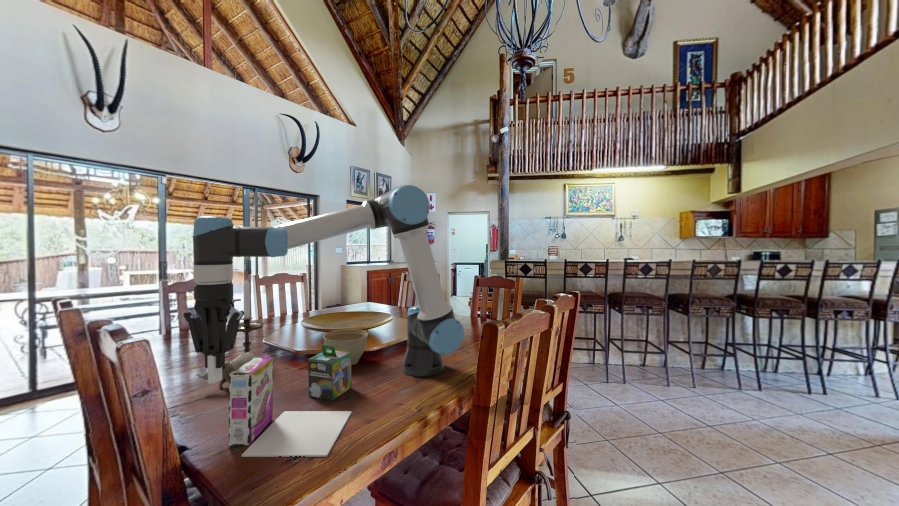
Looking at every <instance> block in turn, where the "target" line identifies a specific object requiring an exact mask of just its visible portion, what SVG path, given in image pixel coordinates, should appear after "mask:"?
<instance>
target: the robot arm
mask: <svg viewBox="0 0 899 506" xmlns="http://www.w3.org/2000/svg"><path fill="white" fill-rule="evenodd" d="M430 205H431V204H430V200H429V198H428V195H427V194H426V193H425V192H424V190H422V189H421V188H419V187H418V186H417V185H413V184H404V185H399V186H396V187H394V188H393V189H391V190H389V191H387V192H384V193H383V194H381V195H379V196H376V197H374V198H371V199H368V200H364V201H363V202H362V204H360V205H357V206H353V207H347V208H344V209H339V210H336V211H335V210H334V211H331V212H328V213H323V214H319V215H316V216H311V217H307V218H302V219H299V220H294V221H289V222H286V223H282V224H278V225H272V226H240V225H239V226H238V225H234V223H233V219H232V218H230V217H223V216H198V217H196V218H195V219H194V221H193V232H192V245H193V247H192V249H193V250H192V251H193V253H192V254H193V281H194V283H196V284H194V286H193V299H194V300H195V304H194V305H193V309H191V310H190V311H187V312H186V311H185V312H184V313H183V317H184V319H185V321H186V322H187V324H188V328H189V333H190V335H191V340H192V344H193V346H194V350H195V352H196V353H197V354H198V353H201V354H203V355H204V368H205V369H207V372H208V380H207V384H216V383H218V382H220V381H221V380H222V379H223V378H222V367H223V366H224V365H225V362H226V353H227V352H230V351H231V350H233V349H234V348H235V344H236V339H237V336H238V332H237V331H238V327H239V324H240V323H241V322H240V321H242V320H241V319H242V318H244V310H238V309H236V308H235V303H234V302H233V297H234V283H233V282H231V281H233V279H234V261H233V259H234V258H243V257H245V258H249V257H250V258H266V257H267V258H276V257H278V258H279V257H285V256H287V254H288V250H290V249H294V248H297V247H301V246H305V245H309V244H313V243H317V242H319V241H323V240H326V239H327V240H328V239H330V238H331V239H332V238H335V237H338V236H342V235H346V234H349V233H353V232H357V231H361V230H365V229H368V228H369V229H370V230H372V231H373V230H376V229H381V228H387V227H390V229H391V232H392V235H393V236H394V237H395V238H397V239H398V240H399V242H400V246H401V249H402V253H403V256H404V260H405V264H406V265H407V266H406V267H407V270H408V272H409V277H410V280H411V284H412V287H413V290H414V293H415V297H416V301H417V303H418V304H417V305H414V306H413V305H412V306H410V307H409V308H408V309H407V316H406V318H407V319H406V320H407V323H406V324H407V329H406V331H407V333H406V334H407V337H406V338H407V344H406V345H407V347H406V352H405V354H404V357H403V361H402V368H401V369H402V371H403V373H405V374H406V375H409V376H413V377H420V378H421V377H422V378H423V377H431V376H436V375H439V374H440V373H442V372H443V371H444V370H445V360H444V358H443V355H446V356H447V355H450V354H453V353H455V351H457V350H458V349H459V348H460V347H461V344H462V342H463V341H464V338H465V329H464V326H463V324H462V323H461V321H460V320H458V319H457V318H456V316H455V313H454V310H453V306H452V305H451V304H450V303H447V301H446V299H445V295H444V291H443V288H442V283H441V280H440V277H439V276H440V275H439V273H438V270H437V265H436V262H435V259H434V255H433V251H432V249H431V244H430V240H429V237H428V233H427V231H428V229H429V228H430V222H429V218H428V216H429V214H430V210H431V206H430ZM228 318H229V319H228Z"/></svg>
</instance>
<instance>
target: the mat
mask: <svg viewBox="0 0 899 506" xmlns="http://www.w3.org/2000/svg"><path fill="white" fill-rule="evenodd" d="M352 413H353V412H352V410H344V411H343V410H342V411H341V410H335V411H334V410H332V411H331V410H327V411H326V410H324V411H323V410H320V411H319V410H310V411H309V410H300V411H299V410H291V411H290V410H288V411H286V410H285V411H283V412H282V413H280V415H278V417H277V418H276V419H275V420H274V421H273V422H272V423H271V424H270V425H269V426H268V427H267V428H265V429H266V430H265V429H264V430H263V431H264V432H263V431H262V432H263V433H262V434H260V435H259V436H258V437H257V438H256V439H255V440H254V441H253V442H252V444H251V445H249V447H248V448H247V449H246V450H245V451H244V452H243V453H242V454H241V458H243V457H244V458H245V457H246V458H247V457H248V458H249V457H251V458H254V457H255V458H256V457H257V458H261V457H262V458H265V457H266V458H268V457H269V458H270V457H271V458H285V457H286V458H287V457H289V458H296V457H295V456H297V458H301V457H302V458H303V456H305V457H306V458H311V457H312V458H314V457H315V458H318V457H320V458H323V457H324V458H325V457H326V458H327V457H328V456H329V453H330V452H331V450H332V449H333V447H334V445H335V443H336V442H337V439H338V438H339V436H340V434H341V433H342V431H343V430H344V428H345V426H346V424H347V422H348V421H349V418H350V417H351V415H352ZM279 456H281V457H279ZM290 456H292V457H290ZM299 456H301V457H299ZM305 457H304V458H305Z"/></svg>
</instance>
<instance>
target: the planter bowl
mask: <svg viewBox="0 0 899 506" xmlns="http://www.w3.org/2000/svg"><path fill="white" fill-rule="evenodd" d="M368 335H369V333H368V332H367V331H365V330H363V329H352V328H349V329H348V328H347V329H346V328H345V329H340V330H339V329H337V330H332V331H329V332H328V333H325V334H323V336H322V337H323V345H329V346H334V348H335V351H344V352H351V366H354V365H356V364H358V362H359V361H360V358H361V357H362V355H363V354H364V352H365V350H366V347H367V343H368V342H367V341H368V337H369V336H368ZM327 350H330V349H328V348H327V349H326V351H327Z"/></svg>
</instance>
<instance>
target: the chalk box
mask: <svg viewBox="0 0 899 506" xmlns="http://www.w3.org/2000/svg"><path fill="white" fill-rule="evenodd" d="M320 348H321V351H322V352H319V353H317V354H315V355H314V356H312V357H309V358H308V359H307V371H308V372H307V375H308V376H307V377H308V397H311V398H318V399H322V400H327V401H331V402H333V401H335V400H336V399H338V398H339V397H340V396H342V395H344V394H345V393H346V392H347V391H349V390H351V389H352V388H353V383H352V381H353V379H352V365H351V352H344V351H335V348H334V346H329V345H324V344H322V345H321V347H320ZM327 348H328V349H330V350H327V351H326V349H327Z"/></svg>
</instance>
